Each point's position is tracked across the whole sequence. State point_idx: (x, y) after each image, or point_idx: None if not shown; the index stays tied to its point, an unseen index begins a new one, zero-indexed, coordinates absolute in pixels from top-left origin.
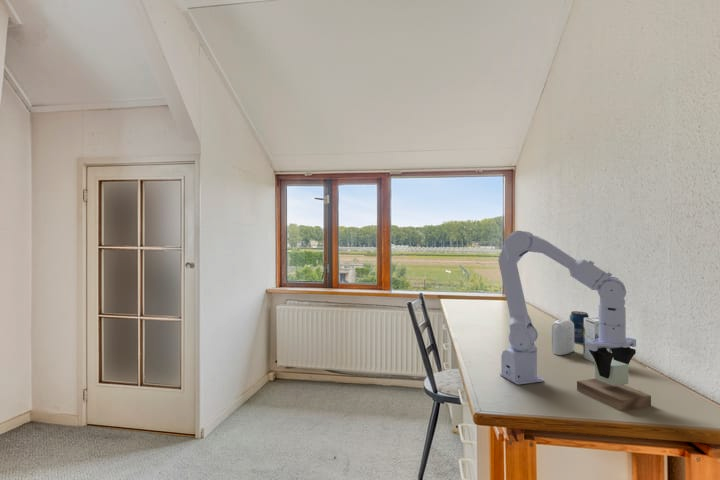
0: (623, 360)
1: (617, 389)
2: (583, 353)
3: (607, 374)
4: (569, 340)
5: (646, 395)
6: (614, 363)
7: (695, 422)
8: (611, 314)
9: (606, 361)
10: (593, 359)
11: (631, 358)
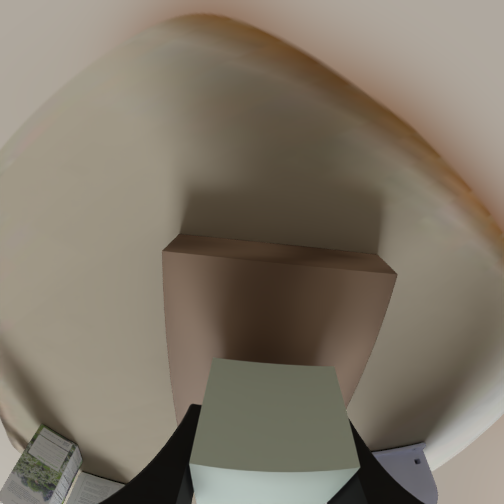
0: (183, 492)
1: (261, 358)
2: (79, 467)
3: (354, 428)
4: (90, 499)
5: (186, 261)
6: (275, 489)
7: (175, 61)
8: None
9: (408, 493)
10: (75, 452)
11: (126, 488)
